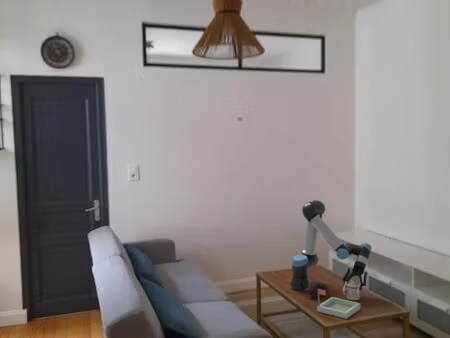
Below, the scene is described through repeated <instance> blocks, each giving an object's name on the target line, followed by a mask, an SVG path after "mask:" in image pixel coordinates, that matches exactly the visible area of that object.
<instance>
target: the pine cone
mask: <svg viewBox="0 0 450 338" xmlns="http://www.w3.org/2000/svg"><path fill="white" fill-rule="evenodd" d="M318 289H320V290H325V291H326V293H327V292H328V291H329V289H330V288H329V287H328V286H326V284H323V283H320V282H315V283H314V282H313V284H311V286H309V288H306V289H305V290H304V291H305V292H306V293H307V294H308V295H309V296H310V297H312V298H318ZM320 295H321V294H319V296H320ZM321 296H322V295H321Z"/></svg>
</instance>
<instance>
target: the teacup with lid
mask: <svg viewBox="0 0 450 338" xmlns="http://www.w3.org/2000/svg"><path fill="white" fill-rule="evenodd" d="M359 284H360V283H357V282H355V280H352V281H349V282H347V285H346V286H347V287H346V288H345V289H344V290H343V289H342V293H343V295H344V296H346V298H347V300H349V301H357V300H360V298H361V297H360V296H361V294H360V293H361V292H359V295H357V294H356V292H357V289H358V286H359ZM345 292H346V293H345Z"/></svg>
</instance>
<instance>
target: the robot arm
mask: <svg viewBox="0 0 450 338" xmlns="http://www.w3.org/2000/svg"><path fill="white" fill-rule="evenodd" d="M325 211H326V205H325V203H324V202H323V201H322V200H319V199H318V200H317V199H314V200H312V201H308V202H306V203H304V204H303V206H302V210H301V213H302V215H303V217H304V219H306V221H307V226H306V233H305V240H304V248H303V249H302V250H301V253H300V254H297V255H294V256H293V257H292V258H291V271H292V275H291V276H292V277H291V280H290V286H289V287H290V289H292V290H295V291H306V290H305V289H306V288H309V286H311V285H312V284H311V282H310V279H309V271H310V270H311V269H312V270H313V269H314V268H315V267H316V266H317V265H318V263H319V257H318V252H317V251H316V249H317V242H318V233H319V234H320V235H321V236H322V238H323V239H324V240H325V241H326V242H327V243H328V244H329V245H330V246H331V248H333V250H334V251H335V252H336V257H337V258H338V260H339V259H340V260H342V261H343V260H347V259H348V258H349V257H352V256H356V259H355V262H354V264H353V267H352V268H350V267H348V268H347V270H346V272H345V274H344V276H343V277H342V282H343V284H342V285H343V288H342V291H343V290H344V289H345V288H347V286H346V285H347V283H349V282H350V280H351V279H352V278H354V277H355V276H357V277H358V278H359V283H358V284H359V286H358V289H357V292H356V294H357V295H359V292H360V291H362V289H363V287H367V280H368V279H367V278H368V277H367V276H368V275H369V274H368V271H366V267H367V266H366V265H367V263H368V261H369V258H370V255H371V252H372V245H370V243H367V242H362V243H361V245H359V244H353V243H350V242H343V241H342V240H341V239H340V238H339V237H338V236H337V235H336V234H335V232H334V231H332V229H331V228H330V227H329V226H328V224H326V222H325V221H324V220H323V214H325ZM362 275H363V278H362ZM360 293H361V292H360Z"/></svg>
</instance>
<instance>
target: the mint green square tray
mask: <svg viewBox="0 0 450 338" xmlns="http://www.w3.org/2000/svg"><path fill="white" fill-rule="evenodd" d="M319 294H321V296H327V292H326V291H325V290H320V289H318V296H317V308H316V309H317V310H316V311H317V312H319V313H321V314H327V315H331V316H333V315H334V317H337V316H338V317H337V318H342V319H345V320H346V319H348V318H350V317H351V316H352V315H353V314H355V313H357V312H358V311H359V310H361V303H359V302H356V301H353V300H348V299H347V300H346V299H342V298H338V297H333V296H331V297H330V298H327V300H325V301H323V302H321V301H320V295H319ZM320 302H321V303H320Z"/></svg>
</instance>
